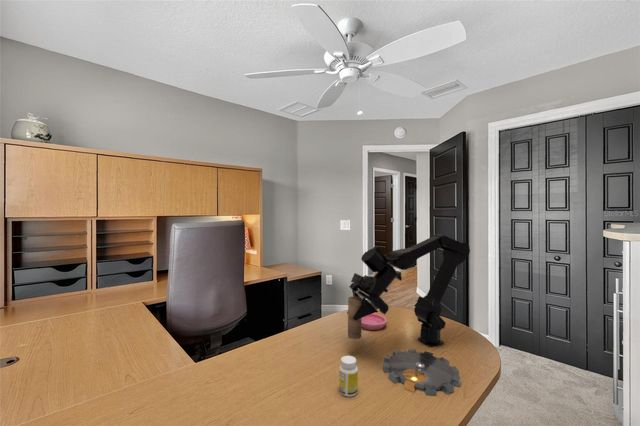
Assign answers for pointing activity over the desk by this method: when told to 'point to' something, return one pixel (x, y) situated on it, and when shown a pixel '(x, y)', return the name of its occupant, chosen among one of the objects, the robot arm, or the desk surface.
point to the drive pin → (353, 307)
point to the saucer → (373, 322)
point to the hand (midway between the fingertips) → (350, 316)
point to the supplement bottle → (348, 376)
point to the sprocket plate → (421, 371)
